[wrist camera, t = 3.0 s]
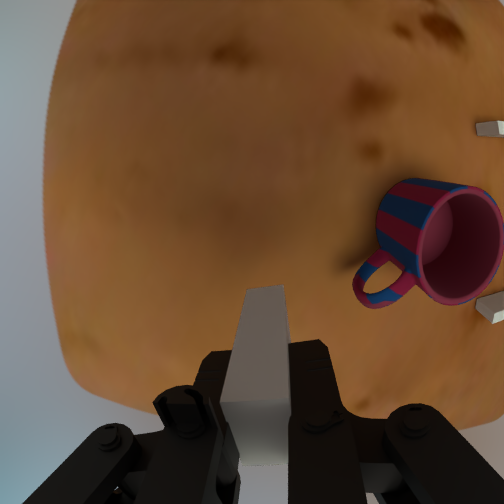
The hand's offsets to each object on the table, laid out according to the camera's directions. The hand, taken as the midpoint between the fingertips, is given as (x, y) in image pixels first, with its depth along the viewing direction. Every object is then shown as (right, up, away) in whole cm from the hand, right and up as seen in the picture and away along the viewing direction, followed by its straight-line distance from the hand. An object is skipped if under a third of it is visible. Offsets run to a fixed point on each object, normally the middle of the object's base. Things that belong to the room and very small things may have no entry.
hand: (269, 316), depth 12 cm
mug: (+10, +4, +7) cm, 13 cm away
